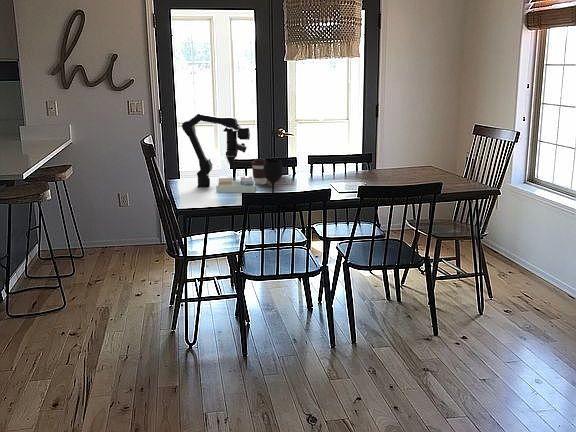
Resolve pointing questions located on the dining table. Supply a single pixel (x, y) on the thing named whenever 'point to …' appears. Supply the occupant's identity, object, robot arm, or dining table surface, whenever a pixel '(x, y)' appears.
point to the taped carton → (225, 180)
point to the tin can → (246, 181)
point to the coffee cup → (258, 171)
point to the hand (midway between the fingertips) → (232, 166)
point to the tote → (235, 187)
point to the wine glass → (272, 171)
